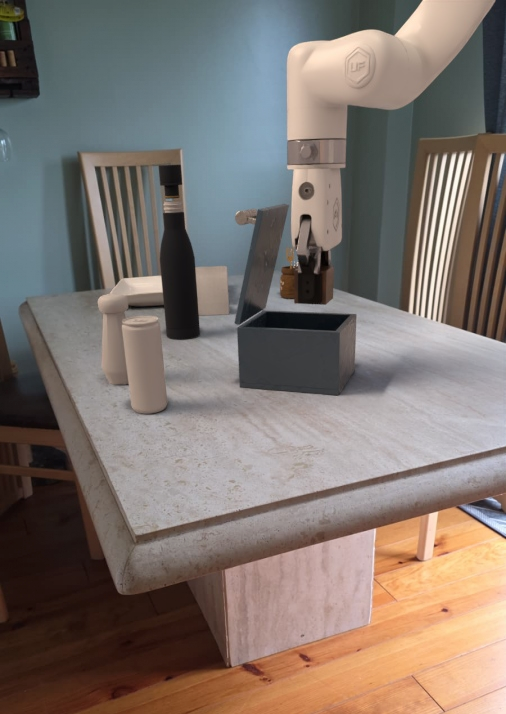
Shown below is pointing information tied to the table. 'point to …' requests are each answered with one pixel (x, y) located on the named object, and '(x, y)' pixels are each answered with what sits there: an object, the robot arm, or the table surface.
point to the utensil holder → (288, 278)
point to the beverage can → (145, 363)
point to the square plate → (141, 290)
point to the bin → (297, 351)
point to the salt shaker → (113, 337)
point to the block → (326, 284)
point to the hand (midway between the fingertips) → (314, 298)
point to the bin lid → (260, 257)
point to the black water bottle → (177, 263)
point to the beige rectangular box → (212, 290)
